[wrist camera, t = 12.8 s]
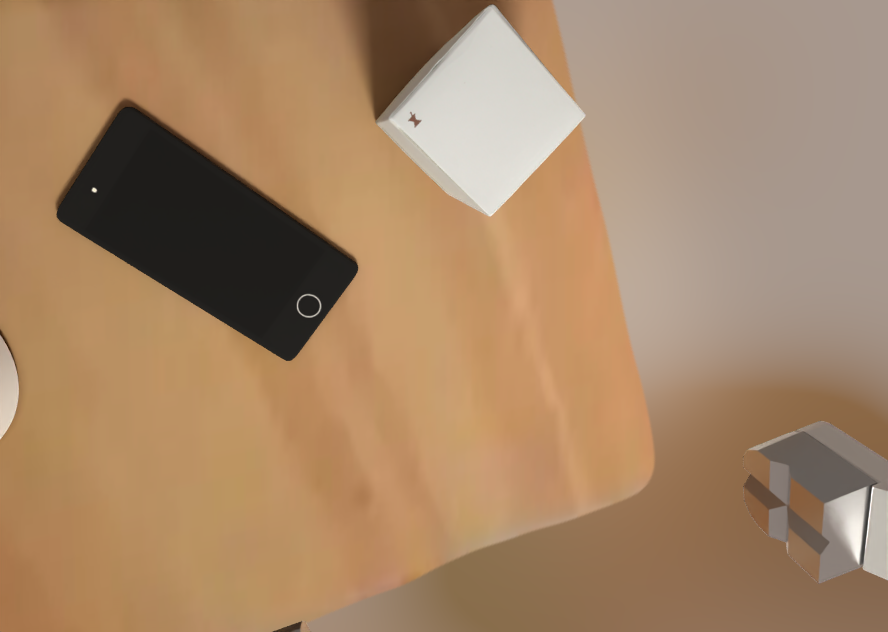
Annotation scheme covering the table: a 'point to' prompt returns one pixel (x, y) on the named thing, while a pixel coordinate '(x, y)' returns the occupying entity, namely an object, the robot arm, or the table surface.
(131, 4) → the table surface
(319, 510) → the table surface
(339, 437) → the table surface
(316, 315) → the cell phone
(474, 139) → the supplement box
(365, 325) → the table surface
